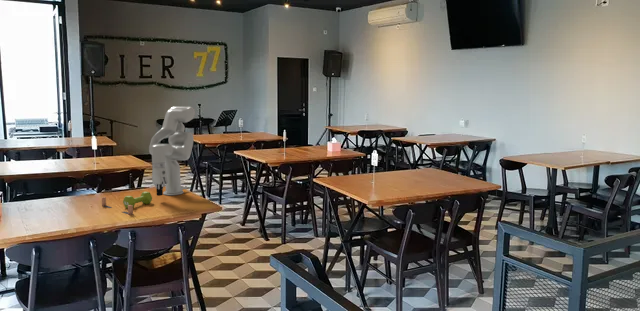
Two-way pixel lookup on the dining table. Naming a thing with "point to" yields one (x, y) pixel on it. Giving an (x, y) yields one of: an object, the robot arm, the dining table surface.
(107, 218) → the dining table surface
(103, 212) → the dining table surface
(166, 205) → the dining table surface
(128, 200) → the dumbbell
